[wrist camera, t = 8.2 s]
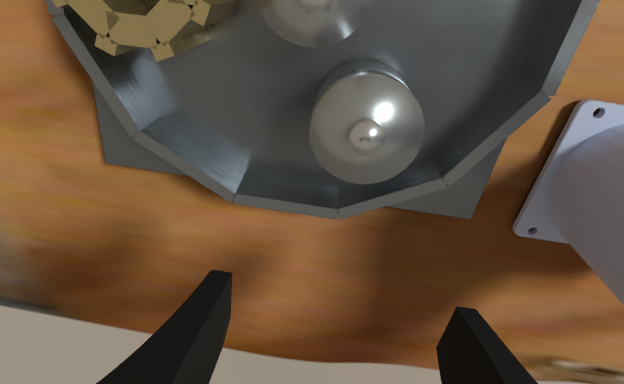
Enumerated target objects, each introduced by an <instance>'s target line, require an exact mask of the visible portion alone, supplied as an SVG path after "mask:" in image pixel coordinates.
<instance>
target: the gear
mask: <svg viewBox="0 0 624 384" xmlns="http://www.w3.org/2000/svg"><path fill="white" fill-rule="evenodd" d="M52 1H53V3H54V4H55V6H56V8H62V7H72V8H73V9H74V10H75V11H76V12H77V13H78V14H79V15H80V16H81V17H82V18H83V19H84V21H85V22H86V23H87V24H88V25H89V26H90V27H91V28H92V29H93V30H94V31H95V32H96V33H97V36H96V41H95V46H96V47H98V48H100V49H101V50H103V51H105V52H107V53H109V54H111V55H113V56H117V55H120V54H123V53H126V52H129V51H132V50H135V49H138V48H141V47H145V48H151V50H152V53H153V55H154V57H155V59H156V61H160V60H163V59H166V58H169V57H172V56H175V55H177V54H180V53H182V52H184V51H186V50H189V49H191V48H193V47H195V46H197V45H200V44H202V43H204V42H206V41H209V40H210V39H209V37H208V34H207V32H206V28H207V27H208V26H209V25H210V24H212V23H215V22H218V21H221V20H225V19H228V18H231V17H233V16H234V14H235V11H236V9H237V6H238V4H239V1H240V0H160V1H159V0H52Z"/></svg>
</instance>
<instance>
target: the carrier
mask: <svg viewBox="0 0 624 384" xmlns="http://www.w3.org/2000/svg"><path fill="white" fill-rule="evenodd" d="M46 1H47V6H48V11H49V15H55V16H56V17H54V18H52V19H51V20H52V21H53V23H54V24H55V26H56V27H57V28H58V30H59V31H60V33H61V34H62V36H63V37H64V39H65V40H66V42H67V43H68V45H69V46H70V48H71V49H72V51H73V52H74V54H75V55H76V57H77V58H78V60H79V61H80V63H81V64H82V66H83V67H84V69H85V70H86V71H87V73H88V74H89V76H90V77H91V79H92V82H93V88H94V95H95V101H96V107H97V113H98V119H99V125H100V131H101V137H102V144H103V150H104V156H105V162H106V163H108V164H114V165H121V166H127V167H134V168H140V169H147V170H153V171H160V172H166V173H173V174H179V175H186V176H190V177H192V178H193V179H195V180H196V181H198V182H199V183H201V184H202V185H204V186H205V187H207V188H208V189H210V190H212V191H213V192H215V193H216V194H218V195H219V196H221V197H222V198H224V199H225V200H227V201H228V202H231V201H232V200H233V204H238V205H245V206H251V207H258V208H264V209H271V210H277V211H284V212H290V213H297V214H303V215H310V216H316V217H323V218H329V219H336V220H337V218H338V215H339V218H340V219H344V218H347V217H350V216H354V215H357V214H361V213H364V212H368V211H371V210H374V209H378V208H381V207H385V206H387V207H393V208H400V209H406V210H413V211H419V212H426V213H432V214H439V215H445V216H452V217H458V218H464V219H471V217H472V215H473V213H474V211H475V208H476V206H477V204H478V202H479V199H480V197H481V195H482V193H483V190H484V188H485V186H486V184H487V181H488V179H489V177H490V175H491V172H492V170H493V168H494V166H495V163H496V161H497V159H498V157H499V154H500V152H501V150H502V148H503V145H504V143H505V141H506V139H507V137H508V136H509V135H511V134H512V133H513V132H514V131H515V130H516V129H518V128H519V127H520V126H521V125H522V124H523V123H525V122H526V121H527V120H528V119H529V118H530V117H532V116H533V115H534V114H535V113H536V112H537V111H538V110H540V109H541V108H542V107H543V106H544V105H545V104H547V103H548V102H549V101H550V100H551V99H550V98H549V97H548V96H547V95H551V96H554V95H555V93H556V91H557V89H558V87H559V85H560V83H561V81H562V79H563V76H564V74H565V72H566V70H567V68H568V66H569V64H570V62H571V60H572V58H573V56H574V54H575V52H576V50H577V48H578V45H579V43H580V41H581V39H582V37H583V35H584V33H585V31H586V29H587V27H588V25H589V23H590V21H591V19H592V17H593V15H594V12H595V10H596V8H597V6H598V4H599V2H600V0H240V1H239V4H238V6H237V9H236V11H235V14H234V16H233V17H231V18H228V19H225V20H221V21H218V22H215V23H212V24H210V25H209V26H208V27H207V28H206V32H207V34H208V37H209V39H210V40H209V41H206V42H204V43H202V44H200V45H197V46H195V47H193V48H191V49H189V50H186V51H184V52H182V53H180V54H177V55H175V56H172V57H169V58H166V59H163V60H160V61H156V59H155V57H154V55H153V53H152V50H151V48H145V47H141V48H138V49H135V50H132V51H129V52H126V53H123V54H120V55H117V56H113V55H111V54H109V53H107V52H105V51H103V50H101V49H100V48H98V47H96V46H95V41H96V36H97V33H96V32H95V31H94V30H93V29H92V28H91V27H90V26H89V25H88V24H87V23H86V22H85V21H84V19H83V18H82V17H81V16H80V15H79V14H78V13H77V12H76V11H75V10H74V9H73V8H72V7H62V8H56V6H55V4H54V3H53V1H52V0H46ZM159 1H160V0H159Z"/></svg>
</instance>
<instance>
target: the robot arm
mask: <svg viewBox="0 0 624 384" xmlns="http://www.w3.org/2000/svg"><path fill="white" fill-rule="evenodd" d="M598 108H600V111H599V112H598V114H596V115H594V116H593V112H594V111H595V110H596V109H598ZM512 228H513V231H514V232H515V234H516V235H518V236H521V237H528V238H534V239H541V240H547V241H554V242H560V243H567V244H570V245H571V246H572V247H573V249H574V250H575V251H576V252H577V253H578V254H579V255H580V256H581V258H582V259H583V260H584V261H585V262H586V263H587V264H588V265H589V267H590V268H591V269H592V270H593V271H594V272H595V273H596V275H597V276H598V277H599V278H600V279H601V280H602V281H603V282H604V284H605V285H606V286H607V287H608V288H609V289H610V290H611V291H612V293H613V294H614V295H615V296H616V297H617V298H618V299H619V300H620V302H621V303H622V304H623V305H624V105H623V104H617V103H611V102H605V101H598V100H592V99H585V100H582V101H580V102H579V103H578V104H577V105H576V106H575V107H574V109H573V111H572V113H571V115H570V117H569V119H568V121H567V123H566V125H565V126H564V128H563V130H562V132H561V134H560V136H559V138H558V140H557V142H556V144H555V146H554V148H553V149H552V151H551V153H550V155H549V157H548V159H547V161H546V163H545V165H544V167H543V169H542V171H541V172H540V174H539V176H538V178H537V180H536V182H535V184H534V186H533V188H532V190H531V192H530V194H529V195H528V197H527V199H526V201H525V203H524V205H523V207H522V209H521V211H520V213H519V215H518V217H517V219H516V220H515V222H514V224H513V227H512ZM530 228H534V229H533V230H531V231H528V230H529V229H530ZM231 290H232V273H230V272H223V271H217V270H212V271H211V272H209V273H208V275H207V276H206V277H205V279H204V280H203V281H202V282H201V284H200V285H199V286H198V287H197V288H196V290H195V291H194V292H193V293H192V294H191V295H190V296H189V298H188V299H187V300H186V301H185V302H184V303H183V304H182V305H181V306H180V308H179V309H178V310H177V311H176V312H175V313H174V314H173V315H172V316H171V317H170V318H169V319H168V320H167V321H166V322H165V323H164V324H163V325H162V326H161V327H160V328H159V329H158V330H157V331H156V332H155V333H154V334H153V335H152V336H151V337H150V338H149V339H148V340H147V341H146V342H145V343H144V344H143V345H142V346H141V347H139V348H138V349H137V350H136V351H135V352H134V353H133V354H132V355H130V356H129V357H128V358H127V359H126V360H125V361H124V362H122V363H121V364H120V365H119V366H118V367H117V368H115V369H114V370H113V371H112V372H110V373H109V374H108V375H107V376H105V377H104V378H103V379H102V380H101V381H99V382H98V383H96V384H209V381H210V379H211V376H212V374H213V371H214V368H215V366H216V363H217V360H218V358H219V355H220V352H221V350H222V347H223V343H224V339H225V336H226V332H227V328H228V324H229V321H230V315H231ZM436 348H437V356H438V363H439V370H440V376H441V382H442V384H538V383H537V382H536V381H535V380H534V379H533V378H532V376H531V375H530V374H529V373H528V372H527V371H526V369H525V368H524V367H523V366H522V365H521V364H520V362H519V361H518V360H517V359H516V358H515V356H514V355H513V354H512V353H511V352H510V350H509V349H508V348H507V347H506V345H505V344H504V343H503V342H502V341H501V339H500V338H499V337H498V336H497V334H496V333H495V332H494V331H493V330H492V328H491V327H490V326H489V325H488V323H487V322H486V321H485V320H484V319H483V317H482V316H481V315H480V314H479V313H478V311H477V310H476V309H471V308H464V307H456V309H455V311H454V313H453V315H452V317H451V319H450V321H449V323H448V325H447V327H446V329H445V331H444V333H443V335H442V337H441V339H440V341H439V343H438V345H437V347H436Z"/></svg>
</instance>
